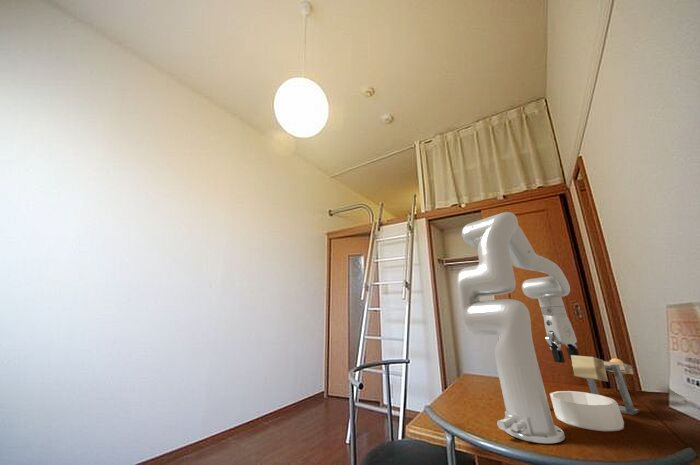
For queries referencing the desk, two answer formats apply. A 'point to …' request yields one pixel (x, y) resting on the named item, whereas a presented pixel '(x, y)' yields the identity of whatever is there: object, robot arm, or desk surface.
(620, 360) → the ball
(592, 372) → the lever
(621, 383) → the pivot stand
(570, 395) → the bowl
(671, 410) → the desk surface
